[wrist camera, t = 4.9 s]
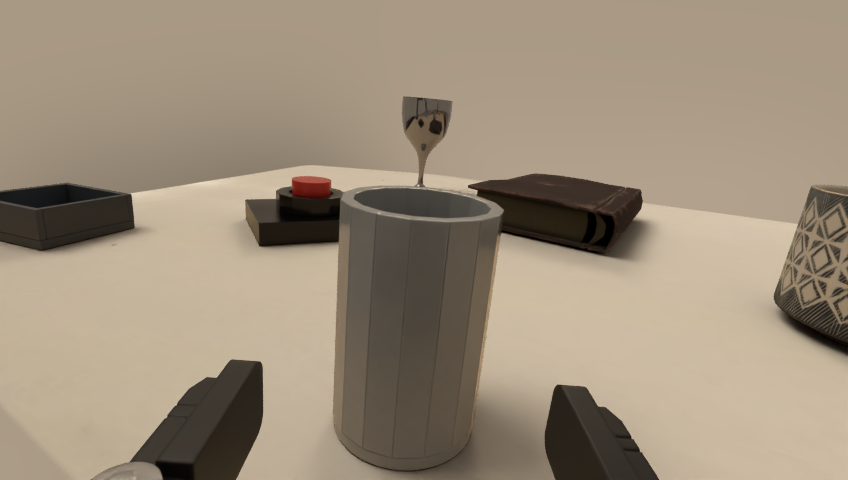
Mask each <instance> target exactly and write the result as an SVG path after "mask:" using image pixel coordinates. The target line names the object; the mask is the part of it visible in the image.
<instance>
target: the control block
mask: <svg viewBox="0 0 848 480" xmlns="http://www.w3.org/2000/svg"><path fill="white" fill-rule="evenodd" d="M343 193H344V192H342V191H340V190H337V189H332V188H331V196H325V197H308V196H299V195H295V194H292V187H284V188H281V189H279V190H277V191H276V199H255V200H245V205H246V220H247V222H248V224H249V226H250V228H251V230H252V232H253V234H254V236H255V238H256V240H257V242H258V244H259V246H266V245H282V244H299V243H315V242H332V241H339V226H340V199H341V197H342V195H343Z"/></svg>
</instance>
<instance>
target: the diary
mask: <svg viewBox="0 0 848 480" xmlns="http://www.w3.org/2000/svg"><path fill="white" fill-rule="evenodd" d="M468 188H471V189H475V190H478V192H477V196H478V197H481V198H484V199H487V200H489V201H492V202H495V203H497V204H498V205H499V206H500V207H501V208H502V209H504V216H503V222H502V229H501V230H504V231H508V232H513V233H517V234H522V235H526V236H530V237H535V238H539V239H544V240H548V241H553V242H557V243H562V244H566V245H570V246H575V247H579V248H586V247H587V249H588V250H593V251H597V252H602V253H606V252H607V251H609V249H610V248H611V247H612V245H613V244H614V243H615V242H616V240H617V239H618V237H619V236H620V234H621V233H622V232H623V231H624V230H625V229H626V228H627V226H628V225H629V224H630V222H631V221H632V219H633V218H634V217H635V216H636V215H637V214H638V212H639V211H640V210H641V206H642V202H643V200H642V196H641V190H640V189H634V188H625V187H621V186H614V185H608V184H604V183H599V182H594V181H589V180H584V179H577V178H571V177H565V176H556V175H546V174H530V175H526V176H521V177H517V178H513V179H508V180H489V181H485V182H480V183H476V184H471V185H468Z"/></svg>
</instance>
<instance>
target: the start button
mask: <svg viewBox="0 0 848 480" xmlns="http://www.w3.org/2000/svg"><path fill="white" fill-rule="evenodd" d="M292 194H295V195H299V196H308V197H325V196H331V180H330V179H327V178H322V177H311V176H301V177H294V178H292Z"/></svg>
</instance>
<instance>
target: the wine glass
mask: <svg viewBox="0 0 848 480" xmlns="http://www.w3.org/2000/svg"><path fill="white" fill-rule="evenodd" d="M451 111H452V101H447V100H438V99H427V98H417V97H403V102H402V121H403V127H404V132H405V134H406V136H407V138H408V139H409V141H410V142H411V144H412V145H413V147H414V148H415V150H416V152H417V155H418V159H419V178H418V183H417V185H415V186H413V187H425V186H424V185H423V174H424V168H425V163H426V160H427V157H428V155H429V153H430V152H431V151H432V150H433V149H434V147H436V145H437V144H438V143H439V142H440V141H441V140H442V139H443V138H444V137H445V134H446V132H447V129H448V126H449V122H450V118H451Z"/></svg>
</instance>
